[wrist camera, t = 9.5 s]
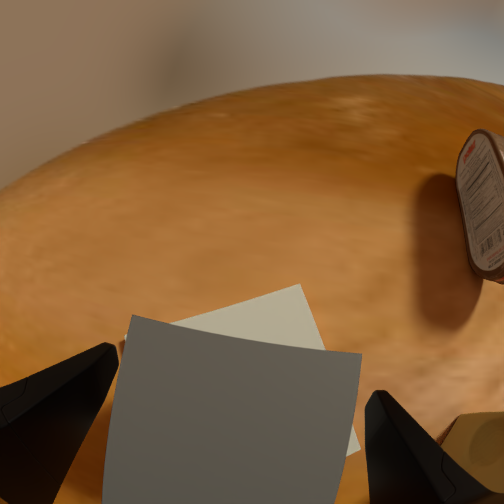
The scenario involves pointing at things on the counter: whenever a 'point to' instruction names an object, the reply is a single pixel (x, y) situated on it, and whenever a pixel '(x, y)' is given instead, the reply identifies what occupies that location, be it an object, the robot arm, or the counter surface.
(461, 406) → the counter surface
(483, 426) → the cheese
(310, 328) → the tile
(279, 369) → the block
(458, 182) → the tin
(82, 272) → the counter surface
